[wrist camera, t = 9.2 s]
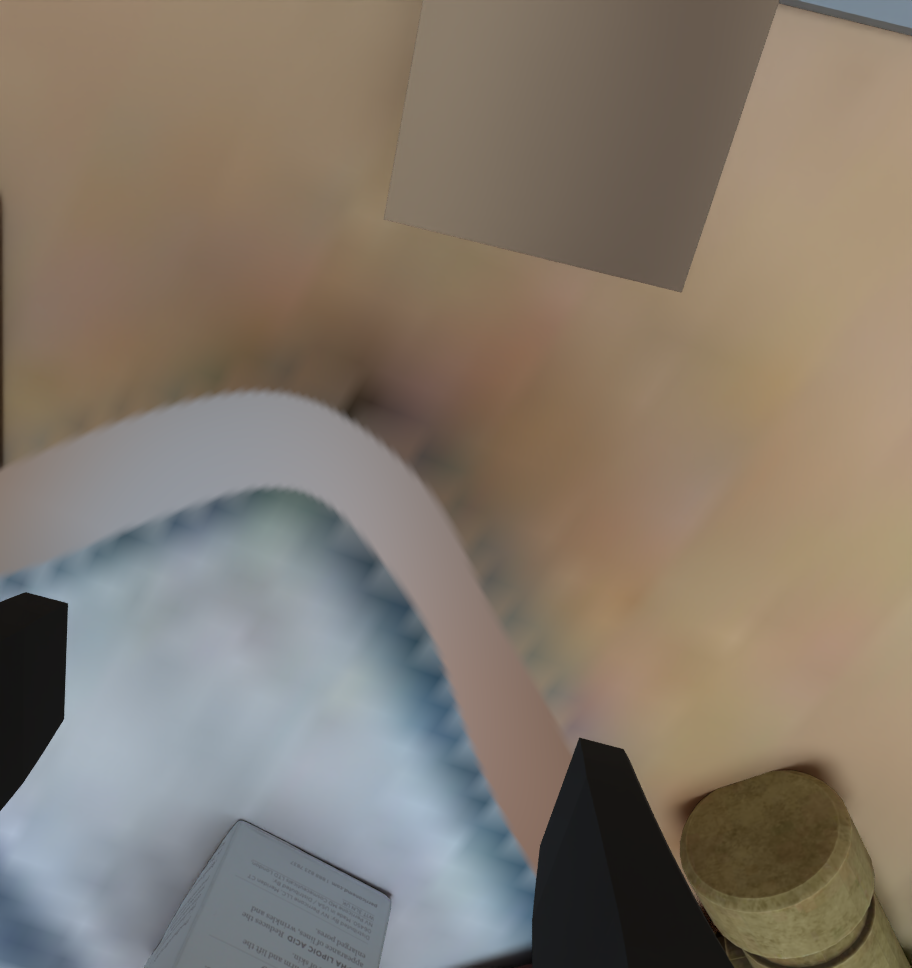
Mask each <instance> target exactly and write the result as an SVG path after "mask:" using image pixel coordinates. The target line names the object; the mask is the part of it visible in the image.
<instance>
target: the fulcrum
mask: <svg viewBox="0 0 912 968" xmlns="http://www.w3.org/2000/svg"><path fill="white" fill-rule="evenodd" d="M779 3H780V4H784V5H789V6H793V7H797V8H801V9H805V10H809V11H813V12H817V13H821V14H825V15H829V16H833V17H837V18H841V19H846V20H850V21H854V22H858V23H862V24H866V25H870V26H874V27H878V28H882V29H886V30H890V31H894V32H898V33H903V34H907V35H911V36H912V0H779Z"/></svg>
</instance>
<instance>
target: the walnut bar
mask: <svg viewBox="0 0 912 968" xmlns="http://www.w3.org/2000/svg"><path fill="white" fill-rule="evenodd" d="M778 3H779V0H423V3H422V9H421V15H420V20H419V26H418V31H417V37H416V42H415V48H414V54H413V59H412V65H411V70H410V76H409V81H408V87H407V93H406V98H405V104H404V109H403V115H402V120H401V126H400V132H399V137H398V143H397V148H396V154H395V159H394V165H393V171H392V176H391V182H390V187H389V193H388V198H387V204H386V210H385V215H384V220H388V221H392V222H396V223H400V224H405V225H409V226H413V227H417V228H421V229H425V230H429V231H433V232H437V233H441V234H445V235H449V236H453V237H458V238H462V239H466V240H470V241H474V242H478V243H482V244H486V245H490V246H494V247H498V248H502V249H506V250H511V251H515V252H519V253H523V254H527V255H531V256H535V257H539V258H543V259H547V260H551V261H555V262H559V263H564V264H568V265H572V266H576V267H580V268H584V269H588V270H592V271H596V272H600V273H604V274H608V275H612V276H617V277H621V278H625V279H629V280H633V281H637V282H641V283H645V284H649V285H653V286H657V287H661V288H665V289H670V290H674V291H678V292H682V290H683V287H684V284H685V281H686V278H687V275H688V272H689V269H690V266H691V263H692V260H693V257H694V254H695V251H696V248H697V245H698V242H699V239H700V236H701V233H702V230H703V227H704V224H705V221H706V218H707V215H708V212H709V209H710V206H711V203H712V200H713V197H714V194H715V191H716V188H717V185H718V182H719V179H720V176H721V173H722V170H723V167H724V164H725V161H726V158H727V155H728V152H729V149H730V146H731V143H732V140H733V137H734V134H735V131H736V128H737V125H738V123H739V120H740V117H741V114H742V111H743V108H744V105H745V102H746V99H747V96H748V93H749V90H750V87H751V84H752V81H753V78H754V75H755V72H756V69H757V66H758V63H759V60H760V57H761V54H762V51H763V48H764V45H765V42H766V39H767V36H768V33H769V30H770V27H771V24H772V21H773V18H774V15H775V12H776V9H777V6H778Z"/></svg>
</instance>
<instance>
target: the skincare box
mask: <svg viewBox="0 0 912 968" xmlns="http://www.w3.org/2000/svg"><path fill="white" fill-rule="evenodd" d="M390 910H391V900H390V899H389V898H388V897H387V896H386V895H385V894H383V893H381V892H379V891H377V890H376V889H374V888H372V887H370V886H368V885H366V884H364V883H363V882H361V881H359V880H357V879H355V878H353V877H351V876H349V875H347V874H345V873H343V872H341V871H339V870H337V869H335V868H334V867H332V866H330V865H328V864H326V863H324V862H322V861H320V860H318V859H316V858H315V857H313V856H311V855H309V854H307V853H305V852H303V851H301V850H299V849H298V848H296V847H294V846H292V845H290V844H288V843H287V842H285V841H283V840H281V839H279V838H277V837H275V836H273V835H271V834H269V833H267V832H265V831H263V830H261V829H259V828H257V827H255V826H253V825H251V824H249V823H247V822H245V821H238V822H237V823H236V824H235V825H234V826H233V828H232V829H231V830H230V831H229V833H228V834H227V835H226V837H225V838H224V840H223V841H222V843H221V844H220V846H219V847H218V849H217V850H216V852H215V853H214V855H213V856H212V858H211V859H210V861H209V862H208V864H207V865H206V867H205V868H204V870H203V871H202V873H201V874H200V876H199V877H198V879H197V880H196V882H195V884H194V885H193V887H192V888H191V890H190V891H189V893H188V894H187V896H186V898H185V899H184V901H183V902H182V904H181V906H180V907H179V909H178V911H177V913H176V914H175V916H174V918H173V919H172V921H171V923H170V925H169V927H168V928H167V930H166V933H165V935H164V937H163V939H162V941H161V943H160V944H159V945H158V947H157V948H156V950H155V951H154V952H153V954H152V955H151V956H150V958H149V959H148V961H147V963H146V965H145V967H144V968H379V964H380V959H381V954H382V949H383V944H384V939H385V935H386V930H387V925H388V920H389V915H390Z"/></svg>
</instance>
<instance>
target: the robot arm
mask: <svg viewBox="0 0 912 968" xmlns="http://www.w3.org/2000/svg"><path fill="white" fill-rule="evenodd" d="M67 615H68V603H64V602H61V601H57V600H53V599H49V598H45V597H42V596H38V595H34V594H30V593H26V592H25V593H22V594H20V595H17V596H14V597H12V598H9V599H7V600H4V601H2V602H0V811H1V809H2V808H3V807H4V806H5V805H6V803H7V802H8V801H9V800H10V799H11V797H12V796H13V795H14V794H15V792H16V791H17V790H18V789H19V787H20V786H21V785H22V784H23V782H24V781H25V779H26V778H27V776H28V775H29V773H30V772H31V770H32V769H33V767H34V766H35V764H36V763H37V761H38V760H39V758H40V757H41V755H42V754H43V752H44V750H45V749H46V747H47V746H48V744H49V742H50V741H51V739H52V738H53V736H54V734H55V733H56V731H57V730H58V728H59V726H60V725H61V723H62V722H63V720H64V704H65V674H66V645H67ZM532 968H734V966H733V964H732V963H731V961H730V960H729V958H728V956H727V954H726V953H725V951H724V949H723V947H722V946H721V944H720V942H719V941H718V939H717V937H716V935H715V934H714V932H713V930H712V928H711V927H710V925H709V923H708V921H707V920H706V918H705V916H704V914H703V912H702V910H701V909H700V907H699V905H698V903H697V901H696V899H695V898H694V896H693V894H692V892H691V890H690V888H689V886H688V884H687V882H686V880H685V878H684V876H683V874H682V872H681V870H680V868H679V866H678V864H677V862H676V860H675V858H674V857H673V855H672V853H671V850H670V848H669V846H668V844H667V842H666V840H665V838H664V836H663V834H662V832H661V830H660V827H659V825H658V823H657V821H656V819H655V817H654V814H653V812H652V810H651V808H650V806H649V804H648V801H647V799H646V797H645V795H644V792H643V790H642V788H641V785H640V783H639V781H638V779H637V776H636V774H635V772H634V769H633V767H632V765H631V762H630V760H629V758H628V756H627V754H626V753H625V751H624V749H621V748H617V747H613V746H609V745H605V744H602V743H598V742H594V741H590V740H586V739H582V738H579V740H578V743H577V746H576V748H575V751H574V754H573V757H572V760H571V762H570V765H569V768H568V770H567V773H566V776H565V779H564V781H563V784H562V787H561V790H560V792H559V796H558V798H557V801H556V804H555V806H554V809H553V812H552V814H551V817H550V820H549V823H548V825H547V828H546V831H545V834H544V836H543V839H542V842H541V845H540V851H539V861H538V869H537V878H536V887H535V897H534V907H533V918H532Z"/></svg>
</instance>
